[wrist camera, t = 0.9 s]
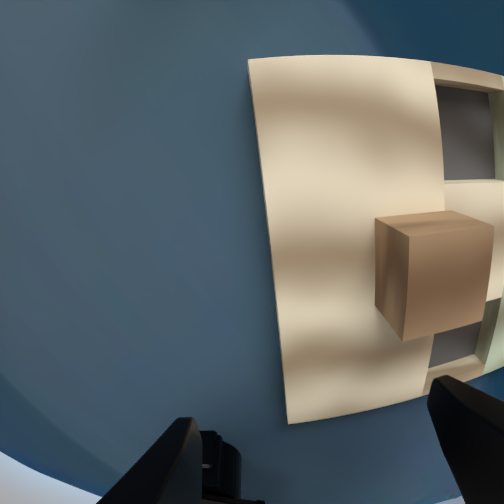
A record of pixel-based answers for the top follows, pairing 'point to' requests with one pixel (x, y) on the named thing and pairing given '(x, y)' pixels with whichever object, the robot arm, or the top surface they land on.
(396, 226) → the walnut block
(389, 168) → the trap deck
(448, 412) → the robot arm
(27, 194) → the top surface
